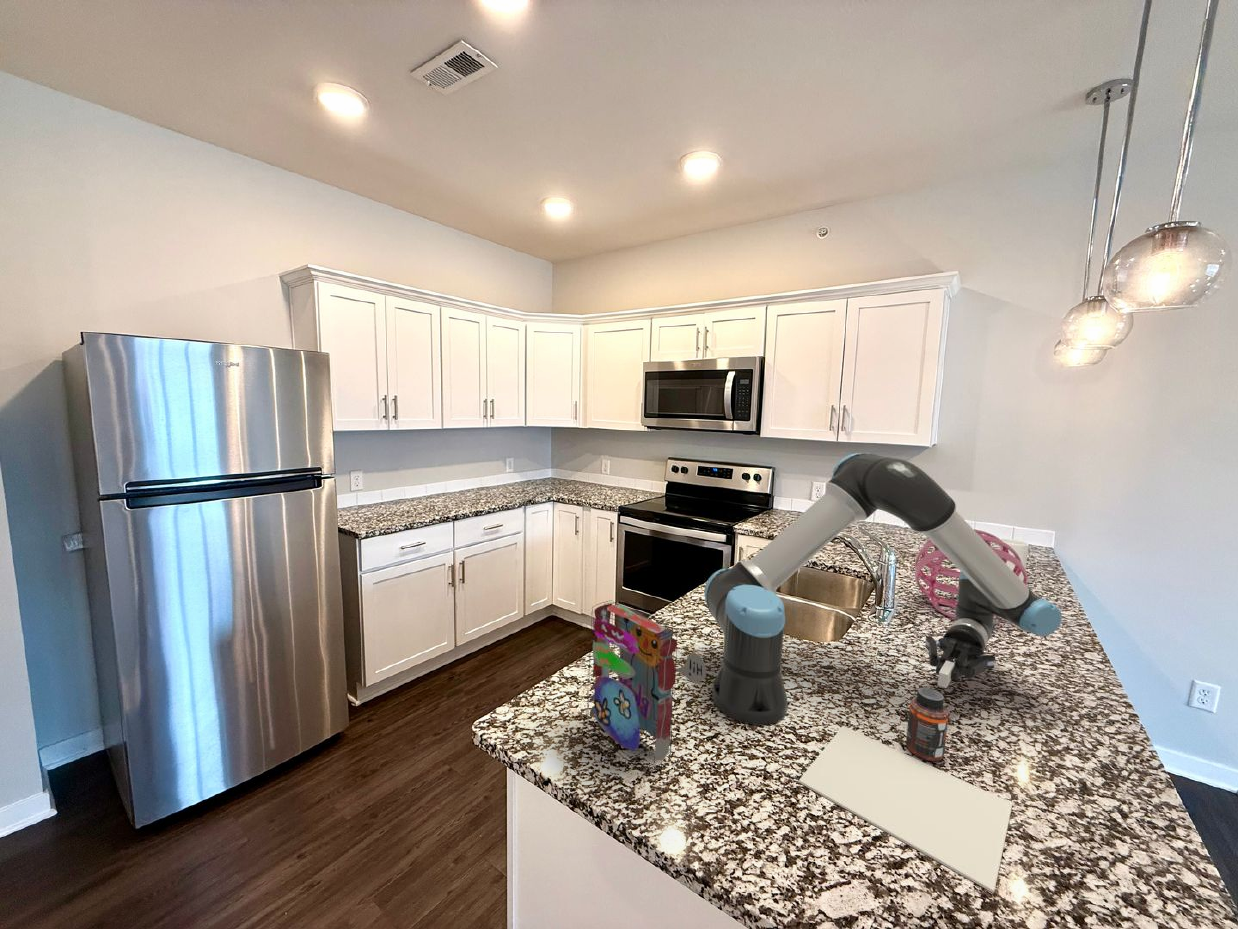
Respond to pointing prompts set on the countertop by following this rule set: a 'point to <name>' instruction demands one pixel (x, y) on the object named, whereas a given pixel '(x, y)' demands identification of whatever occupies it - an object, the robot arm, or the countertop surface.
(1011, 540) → the cup
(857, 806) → the mat
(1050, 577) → the countertop surface
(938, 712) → the supplement bottle
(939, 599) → the spiral basket
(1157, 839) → the countertop surface
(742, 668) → the robot arm
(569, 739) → the countertop surface
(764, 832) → the countertop surface
